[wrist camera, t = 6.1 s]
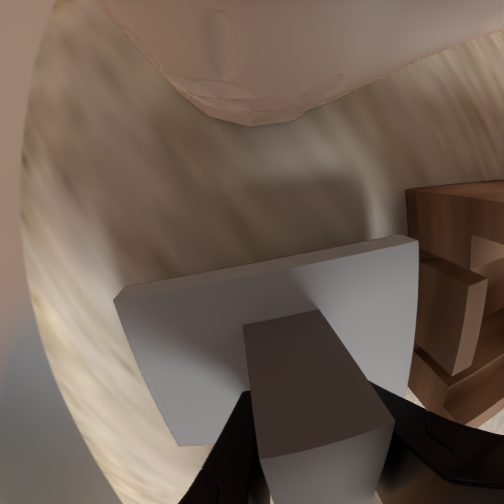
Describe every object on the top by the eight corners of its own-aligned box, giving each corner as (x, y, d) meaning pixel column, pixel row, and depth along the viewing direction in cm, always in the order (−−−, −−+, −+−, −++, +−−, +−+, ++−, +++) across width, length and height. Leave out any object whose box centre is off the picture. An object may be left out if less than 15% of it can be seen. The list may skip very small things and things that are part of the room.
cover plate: (400, 234, 10) (535, 289, 4) (394, 380, 11) (462, 471, 5) (125, 286, 9) (28, 404, 3) (181, 427, 11) (167, 544, 5)
